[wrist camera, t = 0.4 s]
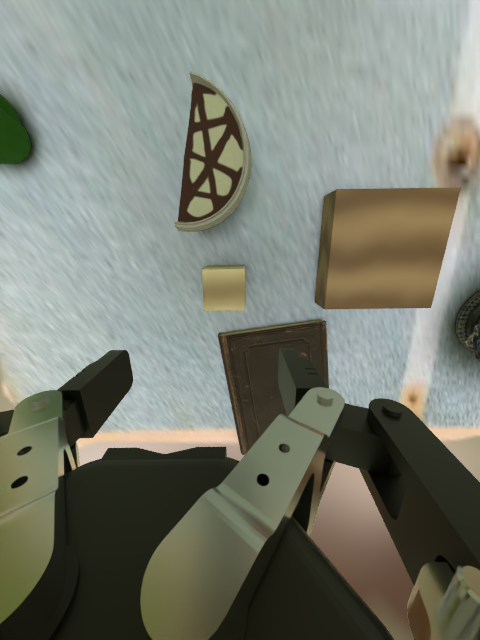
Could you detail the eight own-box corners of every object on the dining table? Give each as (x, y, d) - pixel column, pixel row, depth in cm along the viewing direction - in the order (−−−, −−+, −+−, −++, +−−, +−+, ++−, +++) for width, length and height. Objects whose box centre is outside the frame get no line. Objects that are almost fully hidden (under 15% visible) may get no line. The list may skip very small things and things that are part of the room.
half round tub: (237, 244, 31) (237, 242, 22) (193, 234, 31) (172, 228, 21) (257, 139, 28) (267, 82, 18) (207, 127, 27) (190, 62, 18)
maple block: (208, 265, 32) (201, 269, 27) (243, 265, 32) (244, 268, 27) (210, 300, 34) (204, 310, 28) (244, 299, 34) (244, 310, 28)
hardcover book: (320, 317, 35) (326, 321, 33) (326, 434, 42) (331, 445, 40) (218, 331, 36) (217, 337, 34) (240, 445, 43) (240, 456, 41)
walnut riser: (324, 196, 30) (336, 189, 26) (432, 195, 30) (460, 187, 26) (314, 302, 34) (324, 309, 30) (409, 301, 34) (430, 307, 30)
